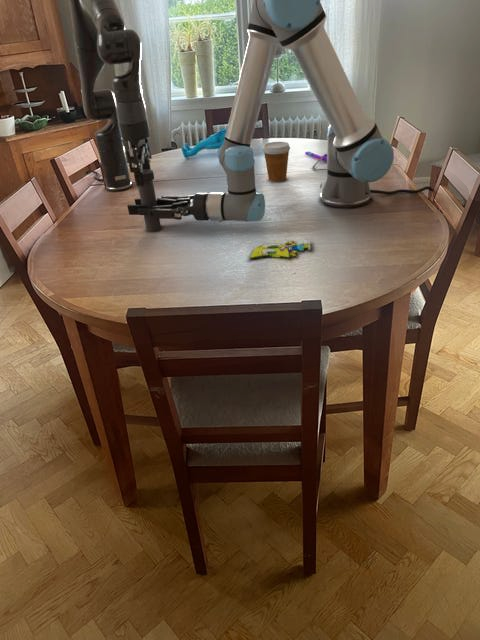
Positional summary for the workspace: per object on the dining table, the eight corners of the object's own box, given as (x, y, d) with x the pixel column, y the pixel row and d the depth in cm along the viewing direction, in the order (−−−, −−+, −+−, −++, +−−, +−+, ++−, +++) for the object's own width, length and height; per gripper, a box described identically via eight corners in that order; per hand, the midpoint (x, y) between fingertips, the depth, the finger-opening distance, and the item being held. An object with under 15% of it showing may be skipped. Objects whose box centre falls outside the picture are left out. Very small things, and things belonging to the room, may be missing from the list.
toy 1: (187, 137, 214) (250, 117, 204) (195, 160, 219) (257, 142, 209) (175, 147, 200) (242, 126, 190) (184, 171, 205) (250, 153, 195)
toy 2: (310, 255, 116) (249, 256, 118) (310, 259, 116) (249, 259, 119) (310, 238, 124) (253, 239, 127) (310, 241, 125) (253, 242, 127)
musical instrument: (342, 175, 173) (362, 153, 185) (341, 169, 172) (361, 148, 184) (283, 174, 186) (305, 153, 198) (282, 169, 184) (305, 148, 196)
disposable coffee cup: (260, 182, 170) (258, 147, 164) (269, 174, 177) (267, 141, 171) (286, 183, 167) (285, 148, 160) (294, 175, 174) (293, 141, 168)
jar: (162, 225, 143) (153, 172, 135) (159, 231, 140) (150, 176, 131) (147, 226, 144) (137, 173, 135) (145, 232, 140) (134, 177, 131)
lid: (157, 179, 133) (155, 171, 132) (139, 184, 131) (137, 175, 129) (150, 175, 137) (148, 167, 136) (132, 179, 135) (130, 171, 133)
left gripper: (126, 115, 131) (138, 174, 140) (110, 126, 120) (124, 190, 128) (153, 113, 131) (163, 173, 140) (140, 124, 119) (151, 189, 128)
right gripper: (202, 231, 129) (122, 230, 134) (218, 208, 143) (146, 208, 148) (198, 204, 125) (116, 204, 130) (216, 183, 139) (141, 184, 144)
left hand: (144, 181), depth 134 cm, fingers open, 7 cm apart
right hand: (132, 206), depth 139 cm, fingers closed on jar, 4 cm apart
